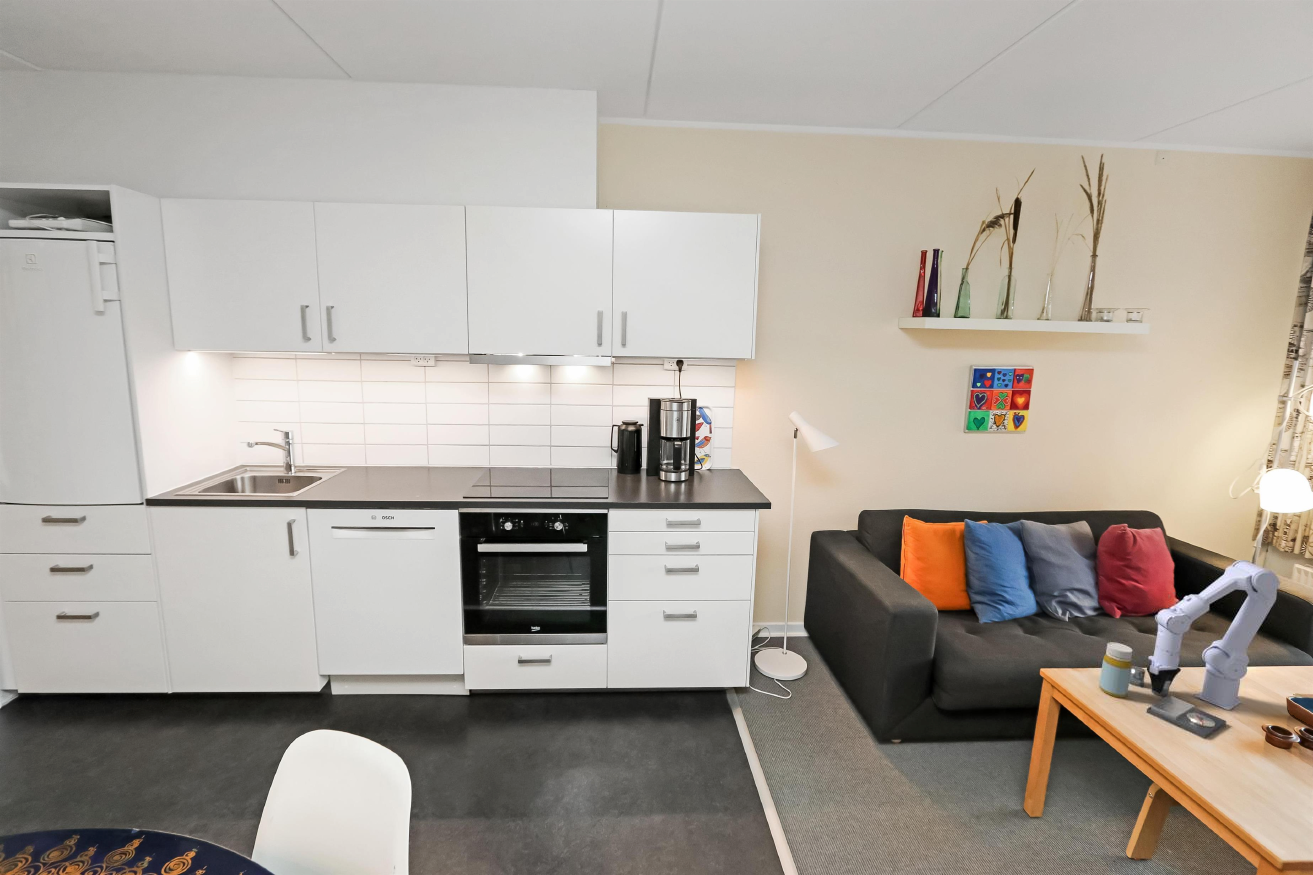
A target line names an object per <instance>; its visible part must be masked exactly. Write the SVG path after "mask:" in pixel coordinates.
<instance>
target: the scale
mask: <svg viewBox="0 0 1313 875" xmlns="http://www.w3.org/2000/svg"><path fill="white" fill-rule="evenodd" d="M1146 713H1147V714H1149V715H1151V716H1153V717H1155V718H1158V719H1160V720H1163V721H1164V722H1167V723H1169V724H1171V725H1174V726H1176V727H1178V728H1179V729H1182V730H1185V731H1186V732H1189V733H1191V734H1193V735H1196V736H1198V737H1200V738H1202V739H1208V738H1209V737H1210V736H1211V735H1213V734H1215V733H1216V732H1217V731H1219V730H1220V729H1222V728H1223V727H1225V726H1226V725H1227V720H1225V719H1223V718H1220V717H1218V716H1215V715H1213V714H1211V713H1209V712H1206V711H1204V710H1201V709H1199V708H1196V707H1195V705H1194V704H1192V703H1189V702H1187V701H1185V700H1183V699H1180V698H1177V697H1176V696H1172V695H1168V697H1163V698H1162V699H1160V700H1159V701H1157V702H1155V703H1154V704H1152V705H1150V707H1148V708H1147V709H1146Z"/></svg>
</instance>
